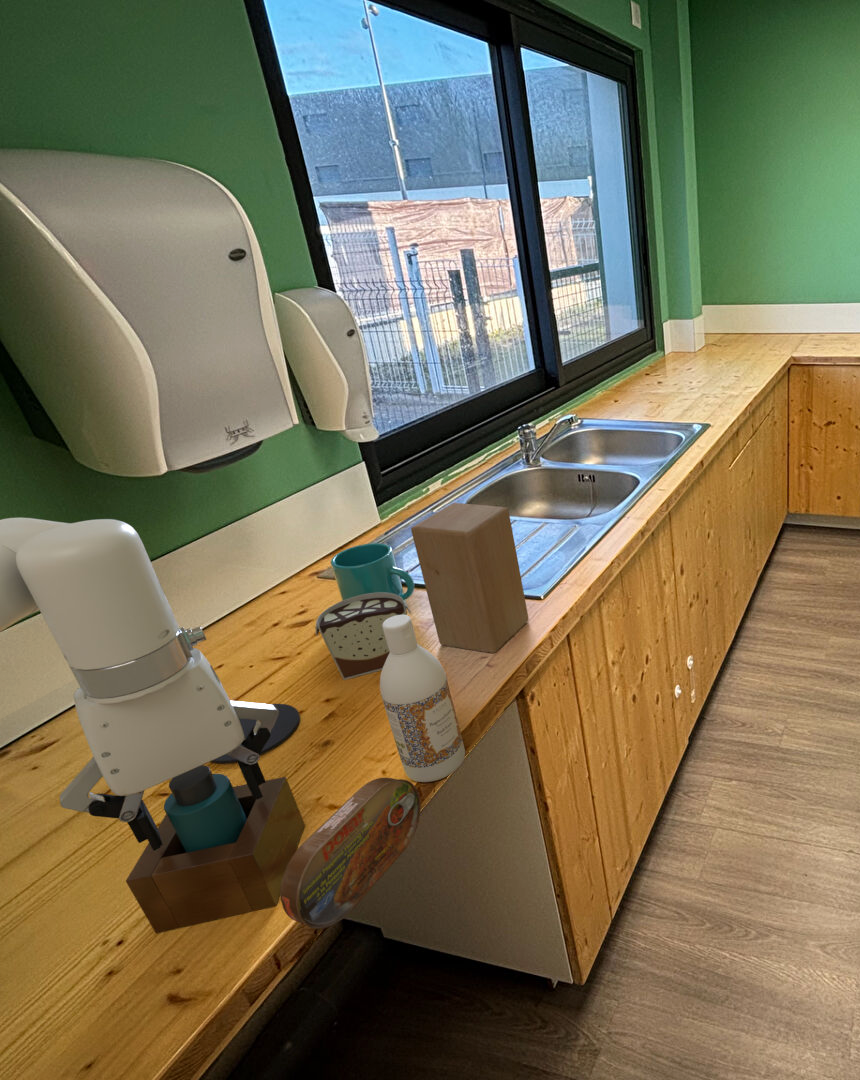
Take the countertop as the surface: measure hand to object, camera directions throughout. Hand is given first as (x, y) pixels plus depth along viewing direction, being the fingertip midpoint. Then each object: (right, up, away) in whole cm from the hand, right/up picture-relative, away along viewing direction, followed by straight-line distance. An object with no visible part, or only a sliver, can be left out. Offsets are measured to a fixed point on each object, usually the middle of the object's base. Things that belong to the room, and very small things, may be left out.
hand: (207, 814), depth 67 cm
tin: (+14, -7, +3) cm, 16 cm away
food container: (-2, +8, +38) cm, 39 cm away
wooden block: (+12, +11, +43) cm, 46 cm away
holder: (0, -8, +4) cm, 8 cm away
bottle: (0, -8, +4) cm, 8 cm away
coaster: (-11, +1, +23) cm, 26 cm away
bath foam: (+15, -1, +17) cm, 23 cm away
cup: (-6, +14, +50) cm, 52 cm away
